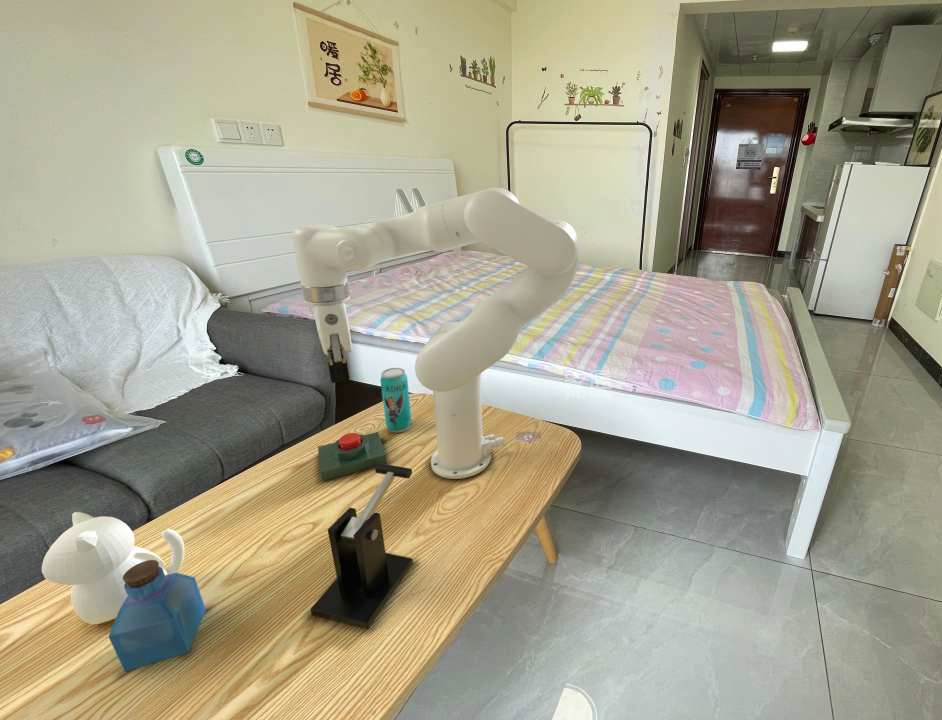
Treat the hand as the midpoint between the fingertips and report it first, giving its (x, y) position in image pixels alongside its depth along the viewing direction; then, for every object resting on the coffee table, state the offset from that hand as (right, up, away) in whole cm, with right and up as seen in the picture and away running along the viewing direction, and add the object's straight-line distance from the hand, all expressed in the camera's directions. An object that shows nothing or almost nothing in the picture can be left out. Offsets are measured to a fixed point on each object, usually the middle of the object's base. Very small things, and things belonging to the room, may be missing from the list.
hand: (340, 380), depth 88 cm
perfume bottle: (-5, -31, -30) cm, 44 cm away
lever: (+18, -17, -21) cm, 33 cm away
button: (-1, -15, +5) cm, 16 cm away
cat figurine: (-15, -29, -25) cm, 41 cm away
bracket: (+16, -29, -22) cm, 40 cm away
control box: (-1, -18, +6) cm, 19 cm away
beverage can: (+4, -14, +19) cm, 24 cm away
